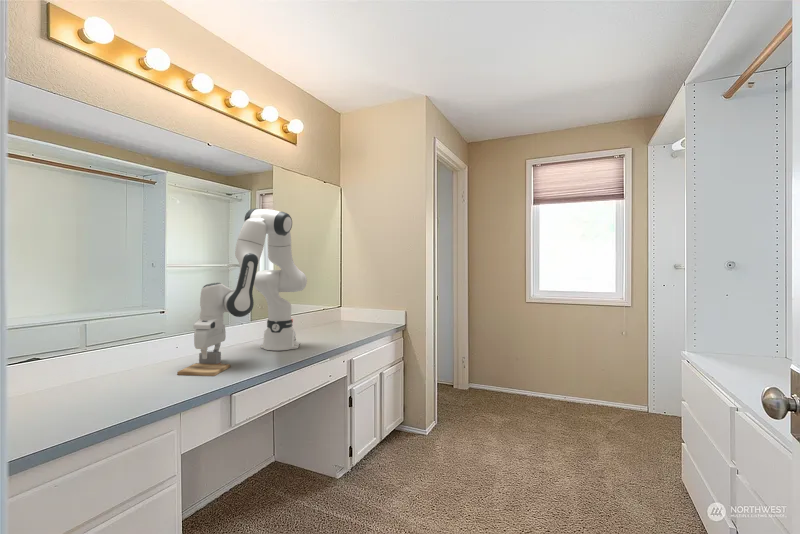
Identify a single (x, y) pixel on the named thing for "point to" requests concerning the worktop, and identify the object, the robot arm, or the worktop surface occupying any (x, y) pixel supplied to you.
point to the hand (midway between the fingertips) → (210, 356)
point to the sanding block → (211, 358)
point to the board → (204, 369)
